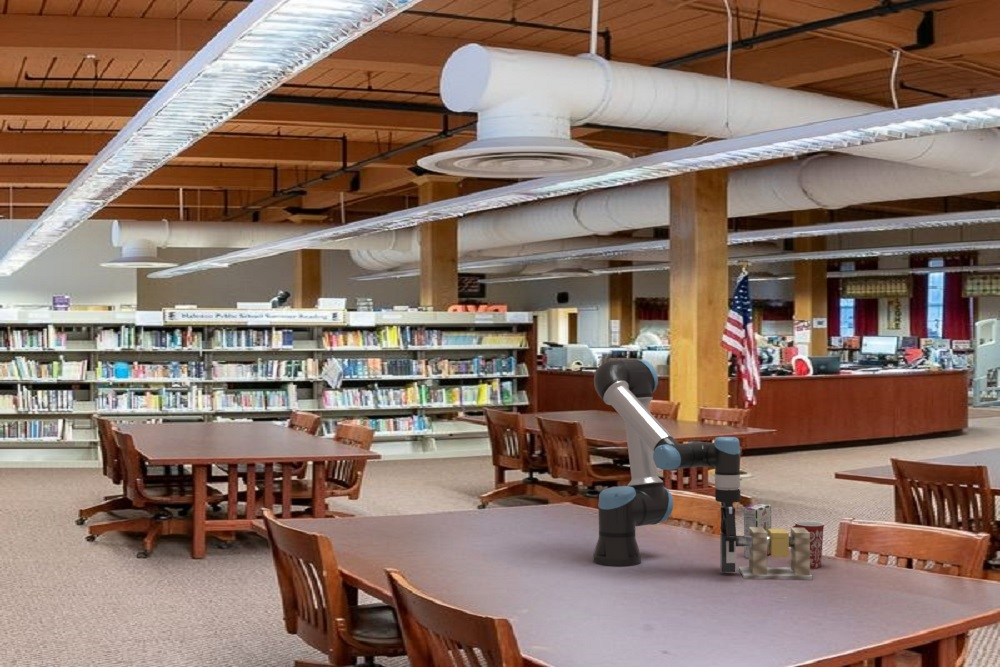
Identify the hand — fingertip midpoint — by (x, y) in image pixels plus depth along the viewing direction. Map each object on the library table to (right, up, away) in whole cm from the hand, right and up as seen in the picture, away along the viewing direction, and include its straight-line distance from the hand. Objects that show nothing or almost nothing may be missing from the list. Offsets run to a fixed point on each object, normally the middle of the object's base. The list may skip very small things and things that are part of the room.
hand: (728, 558), depth 359 cm
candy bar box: (+15, -5, +29) cm, 33 cm away
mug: (+27, -5, +14) cm, 31 cm away
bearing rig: (+13, -5, -1) cm, 14 cm away
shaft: (+10, -4, -1) cm, 10 cm away
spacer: (+15, +1, -1) cm, 15 cm away
